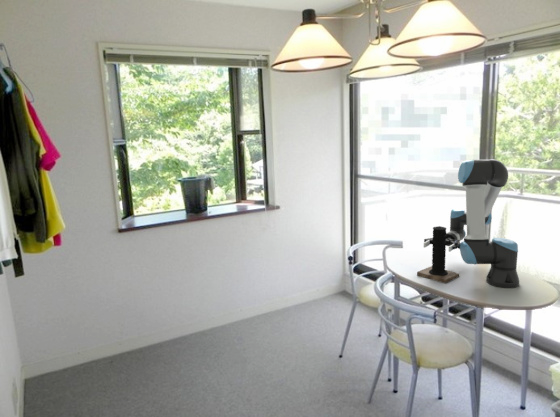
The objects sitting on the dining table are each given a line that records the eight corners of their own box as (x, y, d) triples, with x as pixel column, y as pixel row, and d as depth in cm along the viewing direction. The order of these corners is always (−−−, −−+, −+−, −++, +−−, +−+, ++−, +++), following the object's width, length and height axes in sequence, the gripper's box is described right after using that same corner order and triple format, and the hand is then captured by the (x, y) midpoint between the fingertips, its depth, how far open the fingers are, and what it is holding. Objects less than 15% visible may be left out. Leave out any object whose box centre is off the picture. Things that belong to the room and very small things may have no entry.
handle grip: (450, 275, 216) (444, 269, 226) (452, 228, 211) (446, 223, 221) (431, 275, 217) (426, 269, 227) (432, 228, 212) (427, 224, 222)
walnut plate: (459, 276, 219) (459, 273, 219) (445, 283, 211) (445, 279, 211) (431, 269, 233) (431, 266, 232) (417, 275, 224) (417, 271, 224)
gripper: (473, 248, 224) (460, 257, 209) (429, 241, 241) (414, 250, 225) (473, 235, 223) (460, 243, 207) (429, 229, 239) (414, 237, 224)
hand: (436, 247), depth 216 cm, fingers open, 13 cm apart
